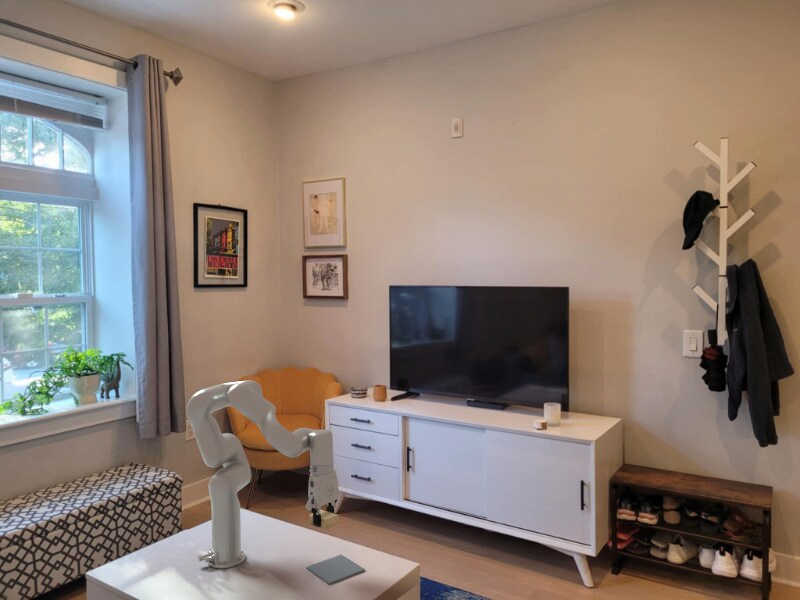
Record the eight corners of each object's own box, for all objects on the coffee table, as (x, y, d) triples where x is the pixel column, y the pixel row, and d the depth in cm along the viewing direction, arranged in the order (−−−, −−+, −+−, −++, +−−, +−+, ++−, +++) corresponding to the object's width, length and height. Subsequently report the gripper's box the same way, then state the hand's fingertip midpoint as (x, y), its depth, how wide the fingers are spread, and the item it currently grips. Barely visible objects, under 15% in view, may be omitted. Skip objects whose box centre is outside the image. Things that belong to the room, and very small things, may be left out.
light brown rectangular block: (309, 524, 193) (309, 515, 193) (321, 519, 197) (321, 509, 197) (326, 530, 188) (326, 520, 188) (338, 524, 192) (338, 514, 192)
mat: (329, 584, 184) (328, 583, 184) (306, 568, 194) (306, 566, 194) (364, 571, 192) (364, 569, 192) (341, 556, 203) (341, 554, 203)
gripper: (311, 477, 183) (313, 534, 184) (348, 463, 197) (349, 516, 197) (295, 473, 188) (296, 528, 188) (332, 459, 201) (333, 511, 202)
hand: (324, 521), depth 193 cm, fingers closed on light brown rectangular block, 5 cm apart
